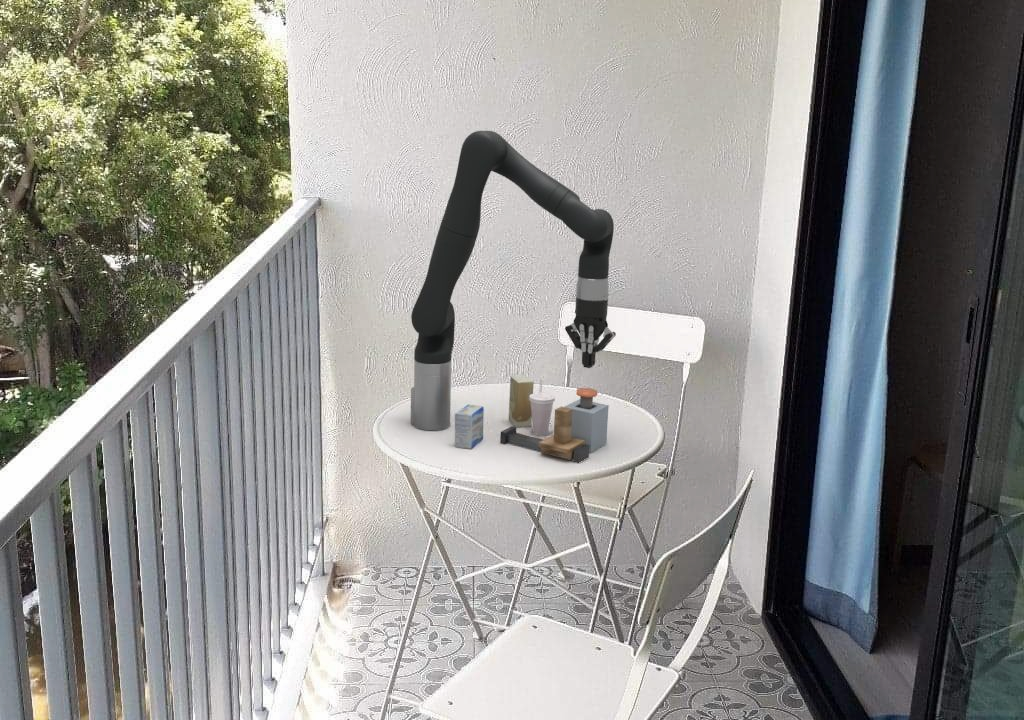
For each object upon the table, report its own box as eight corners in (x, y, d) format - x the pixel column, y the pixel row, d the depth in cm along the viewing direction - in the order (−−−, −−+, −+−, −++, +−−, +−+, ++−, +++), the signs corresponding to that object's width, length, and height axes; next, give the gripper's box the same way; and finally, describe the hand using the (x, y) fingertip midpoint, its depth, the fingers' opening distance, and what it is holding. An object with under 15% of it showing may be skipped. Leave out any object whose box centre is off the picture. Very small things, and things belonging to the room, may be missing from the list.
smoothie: (538, 427, 256) (540, 374, 252) (558, 433, 252) (560, 379, 249) (522, 433, 251) (524, 379, 248) (542, 439, 247) (545, 384, 244)
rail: (500, 443, 244) (500, 431, 243) (511, 437, 248) (511, 426, 247) (578, 463, 232) (579, 451, 232) (588, 457, 236) (589, 445, 236)
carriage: (538, 454, 236) (540, 410, 233) (555, 444, 243) (557, 401, 240) (567, 461, 232) (570, 416, 229) (584, 451, 239) (586, 408, 236)
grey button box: (561, 446, 243) (563, 406, 240) (577, 437, 250) (579, 399, 247) (590, 453, 239) (592, 413, 236) (606, 444, 245) (608, 405, 243)
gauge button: (571, 418, 242) (572, 391, 240) (581, 413, 246) (582, 386, 244) (589, 422, 239) (591, 395, 237) (599, 417, 243) (601, 390, 241)
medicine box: (471, 449, 239) (471, 415, 236) (453, 447, 240) (454, 412, 238) (483, 439, 246) (484, 405, 244) (466, 436, 247) (467, 403, 245)
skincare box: (507, 420, 261) (509, 375, 257) (523, 419, 262) (525, 374, 259) (516, 428, 255) (518, 382, 251) (532, 426, 256) (534, 381, 253)
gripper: (559, 294, 235) (556, 365, 239) (609, 302, 228) (605, 375, 233) (575, 289, 241) (571, 359, 246) (624, 297, 234) (620, 368, 239)
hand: (588, 367), depth 239 cm, fingers closed
